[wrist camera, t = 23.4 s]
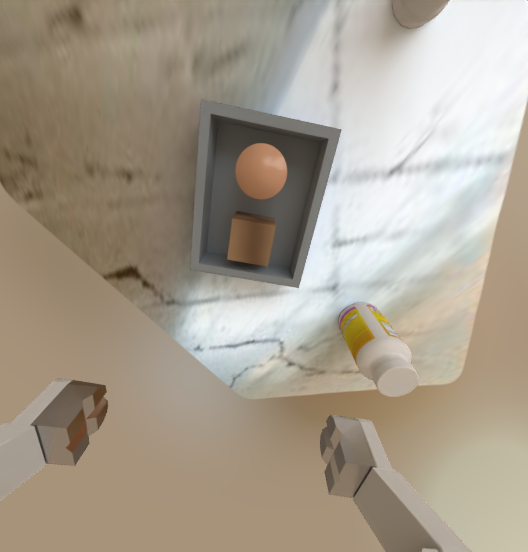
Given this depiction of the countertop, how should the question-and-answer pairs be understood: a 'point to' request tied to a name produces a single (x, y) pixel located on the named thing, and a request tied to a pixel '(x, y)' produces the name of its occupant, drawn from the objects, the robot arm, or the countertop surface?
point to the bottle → (417, 11)
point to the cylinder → (261, 171)
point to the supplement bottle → (378, 349)
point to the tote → (230, 198)
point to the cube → (251, 238)
